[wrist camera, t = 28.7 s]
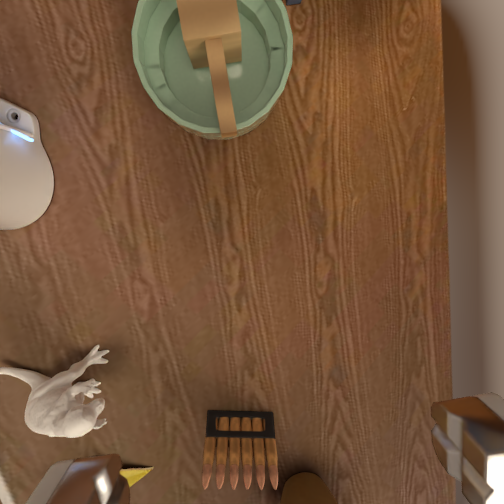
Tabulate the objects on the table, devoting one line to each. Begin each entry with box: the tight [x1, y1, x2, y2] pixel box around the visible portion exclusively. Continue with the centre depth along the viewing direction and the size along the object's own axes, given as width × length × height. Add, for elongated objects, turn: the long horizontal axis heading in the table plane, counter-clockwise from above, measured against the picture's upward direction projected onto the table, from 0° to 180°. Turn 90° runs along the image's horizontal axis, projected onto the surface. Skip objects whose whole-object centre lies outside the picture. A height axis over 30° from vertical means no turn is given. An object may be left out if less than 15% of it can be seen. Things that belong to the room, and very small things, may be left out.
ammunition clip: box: [202, 410, 278, 490], centre depth 43 cm, size 11×2×12 cm, turn 86°
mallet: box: [176, 0, 242, 138], centre depth 33 cm, size 14×6×6 cm, turn 9°
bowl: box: [131, 0, 293, 140], centre depth 34 cm, size 17×17×6 cm
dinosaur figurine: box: [0, 345, 109, 438], centre depth 38 cm, size 20×10×15 cm, turn 90°
